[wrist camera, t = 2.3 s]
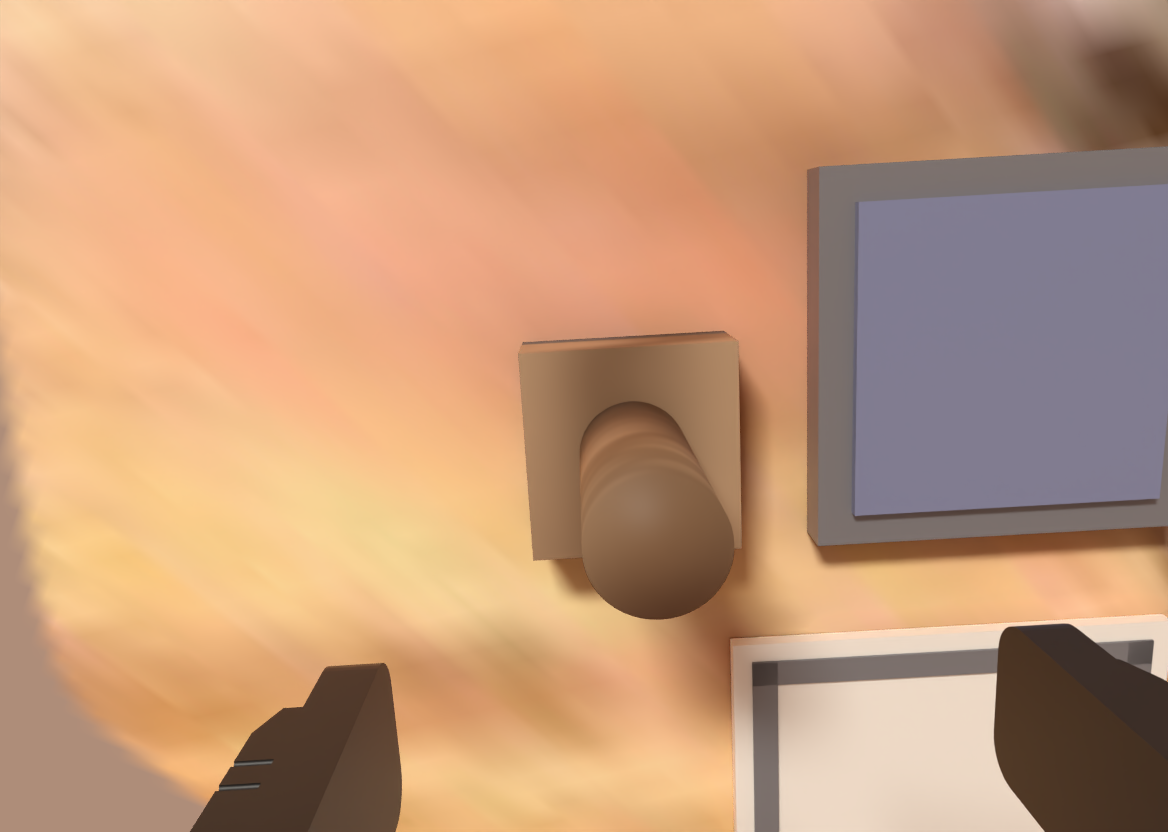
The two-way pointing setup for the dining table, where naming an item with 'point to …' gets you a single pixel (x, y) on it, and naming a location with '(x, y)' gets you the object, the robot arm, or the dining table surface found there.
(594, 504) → the stamp
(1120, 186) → the ink pad
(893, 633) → the marked card
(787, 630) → the dining table surface
